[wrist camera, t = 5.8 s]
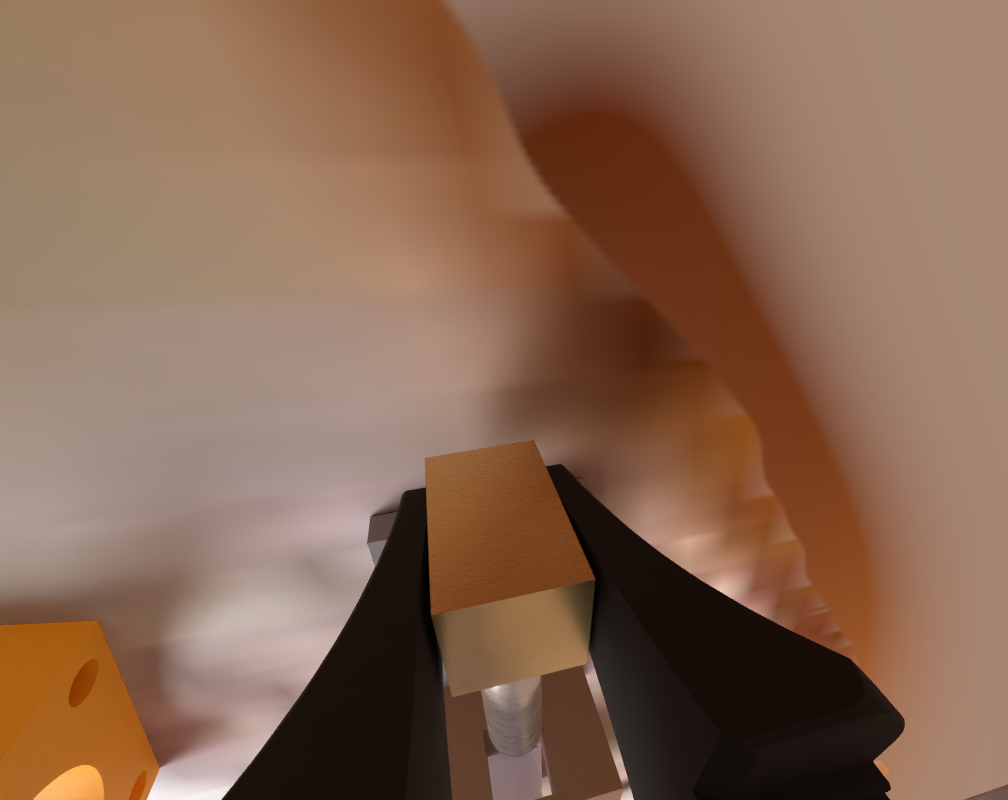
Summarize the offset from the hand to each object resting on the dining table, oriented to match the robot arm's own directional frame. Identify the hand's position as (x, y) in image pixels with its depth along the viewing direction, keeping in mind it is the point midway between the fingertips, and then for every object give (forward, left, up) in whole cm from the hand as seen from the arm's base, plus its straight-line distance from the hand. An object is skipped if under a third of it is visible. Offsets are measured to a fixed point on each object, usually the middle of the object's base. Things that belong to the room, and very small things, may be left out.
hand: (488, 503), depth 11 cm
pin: (-4, 0, -1) cm, 4 cm away
